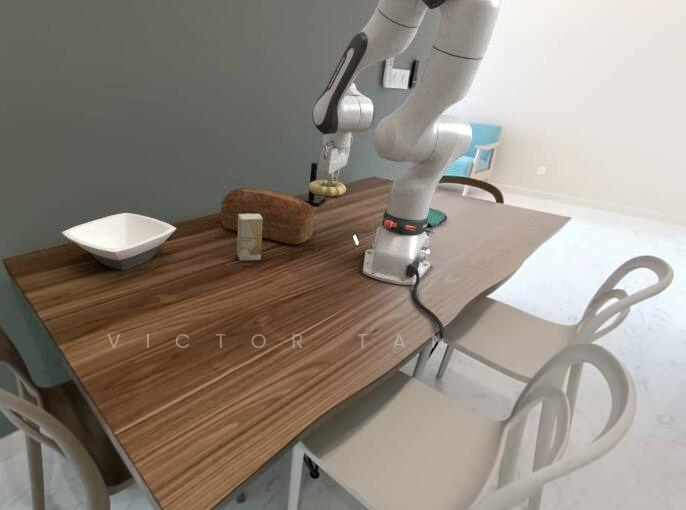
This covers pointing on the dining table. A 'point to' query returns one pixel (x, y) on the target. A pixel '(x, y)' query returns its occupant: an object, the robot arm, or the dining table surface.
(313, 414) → the dining table surface
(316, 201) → the peg stand
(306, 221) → the bread
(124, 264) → the bowl
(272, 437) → the dining table surface
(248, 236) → the cosmetic box
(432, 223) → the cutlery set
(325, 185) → the pale yellow segmented ring
